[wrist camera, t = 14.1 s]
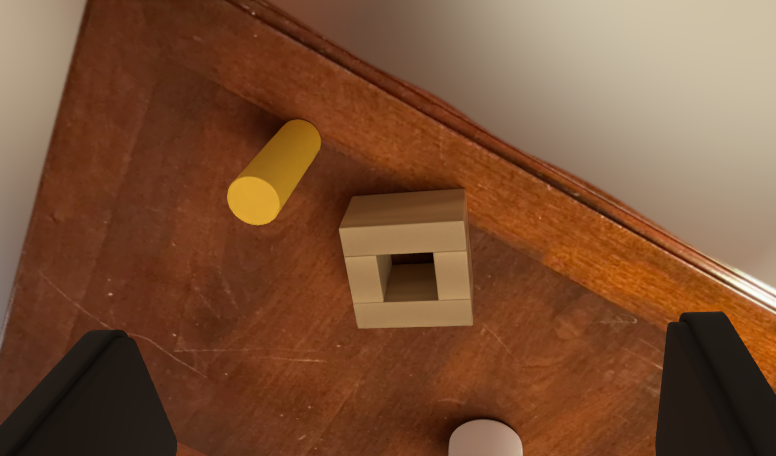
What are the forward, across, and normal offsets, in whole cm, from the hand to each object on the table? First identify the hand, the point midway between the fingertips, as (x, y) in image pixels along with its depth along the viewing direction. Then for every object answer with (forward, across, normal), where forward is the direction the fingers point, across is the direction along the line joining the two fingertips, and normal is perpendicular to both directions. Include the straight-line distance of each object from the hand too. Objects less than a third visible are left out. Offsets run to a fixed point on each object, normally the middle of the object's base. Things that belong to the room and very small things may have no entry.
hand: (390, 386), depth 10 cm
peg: (+30, +11, +5) cm, 33 cm away
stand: (+30, +4, +14) cm, 34 cm away
